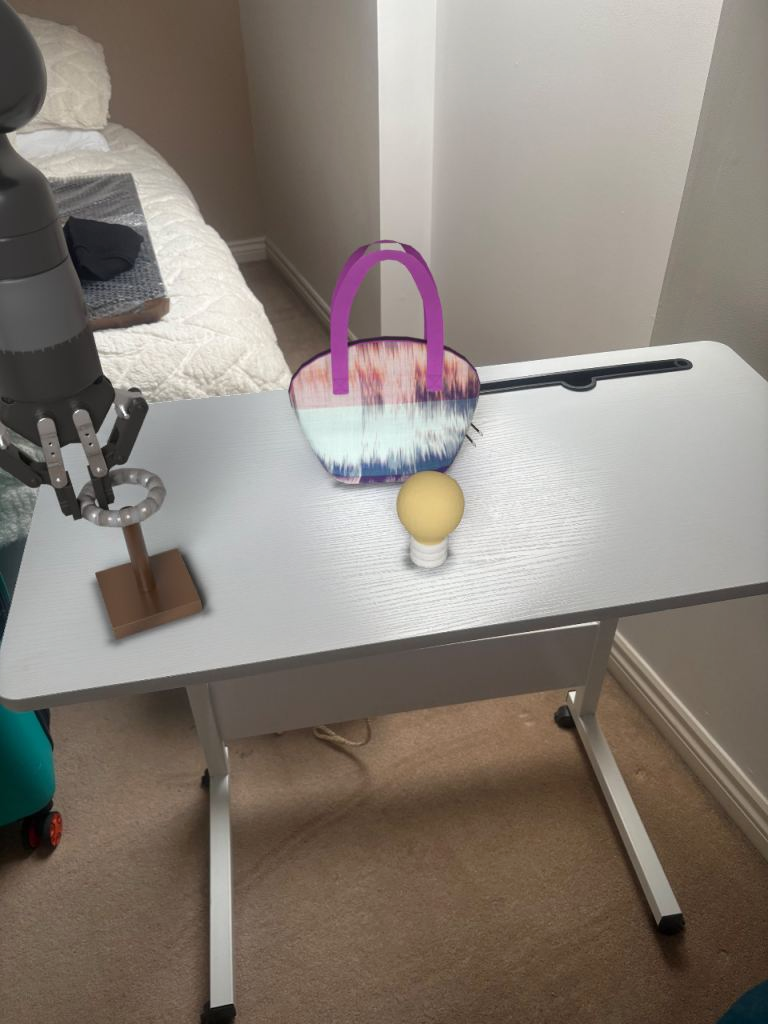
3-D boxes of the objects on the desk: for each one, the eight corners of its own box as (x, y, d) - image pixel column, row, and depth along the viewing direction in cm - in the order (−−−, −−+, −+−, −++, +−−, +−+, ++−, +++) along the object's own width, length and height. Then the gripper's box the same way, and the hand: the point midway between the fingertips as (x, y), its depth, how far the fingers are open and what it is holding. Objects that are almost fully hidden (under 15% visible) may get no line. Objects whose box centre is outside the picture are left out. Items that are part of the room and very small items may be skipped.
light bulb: (387, 574, 80) (387, 493, 74) (405, 532, 85) (407, 453, 79) (452, 587, 79) (457, 506, 72) (466, 544, 84) (473, 464, 77)
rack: (116, 640, 74) (88, 553, 67) (98, 583, 79) (71, 498, 73) (203, 611, 77) (185, 525, 70) (179, 558, 82) (161, 473, 75)
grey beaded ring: (88, 540, 67) (84, 527, 66) (72, 491, 72) (68, 478, 71) (176, 515, 69) (173, 502, 69) (155, 469, 74) (152, 456, 74)
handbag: (474, 430, 99) (490, 223, 83) (487, 480, 92) (508, 263, 76) (295, 437, 98) (277, 229, 82) (293, 488, 91) (273, 270, 75)
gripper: (119, 282, 63) (159, 465, 75) (-75, 319, 59) (-2, 508, 70) (142, 323, 58) (181, 513, 69) (-69, 366, 54) (9, 562, 65)
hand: (89, 509), depth 70 cm, fingers closed on grey beaded ring, 1 cm apart
